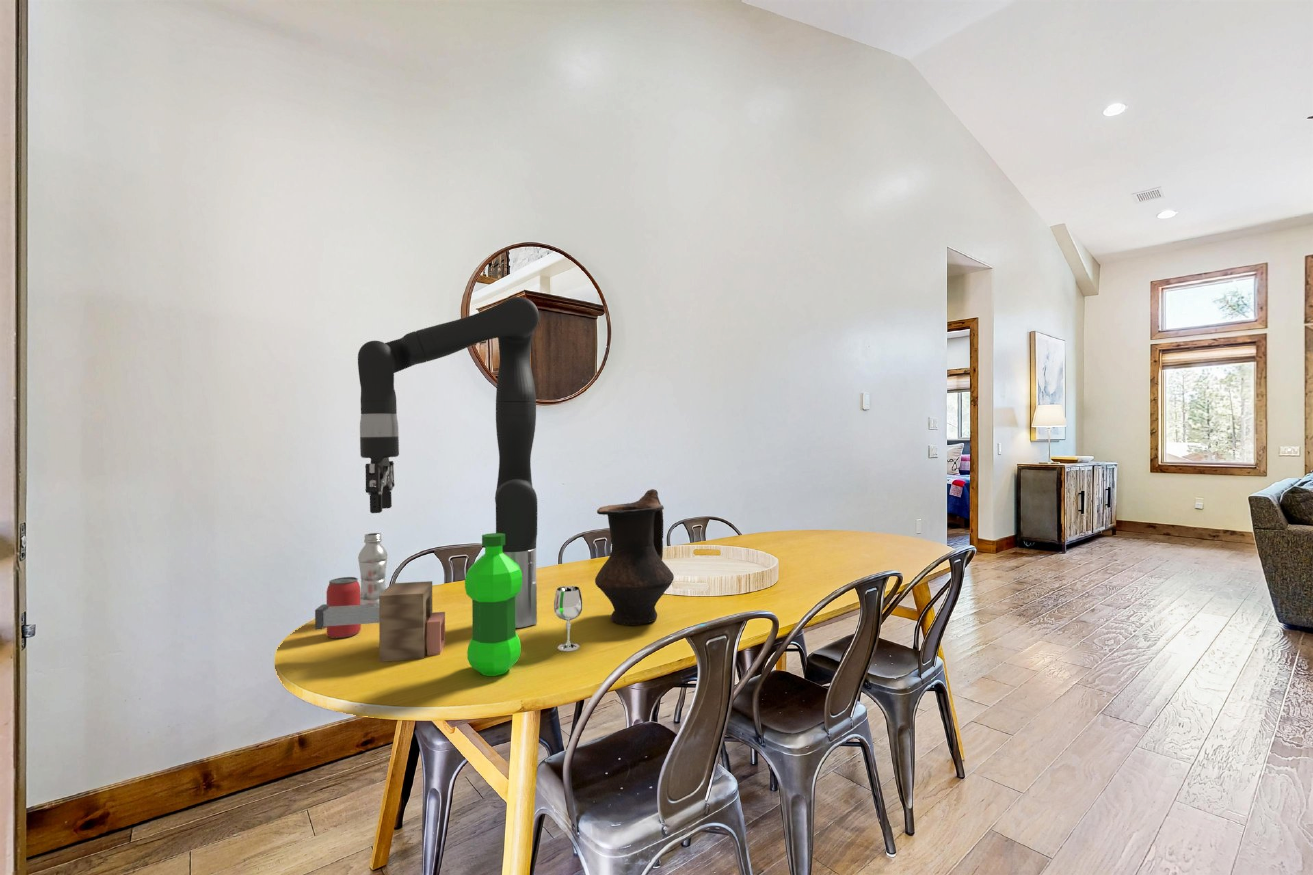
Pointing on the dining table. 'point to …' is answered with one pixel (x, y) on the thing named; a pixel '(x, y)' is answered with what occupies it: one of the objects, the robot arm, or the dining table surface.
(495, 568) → the plastic bottle
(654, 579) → the jug
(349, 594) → the beer can
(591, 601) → the dining table surface
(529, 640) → the dining table surface
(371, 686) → the dining table surface
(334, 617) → the shaft
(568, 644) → the wineglass
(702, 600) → the dining table surface
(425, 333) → the robot arm
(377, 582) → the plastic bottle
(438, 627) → the spacer
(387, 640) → the brown wooden block
